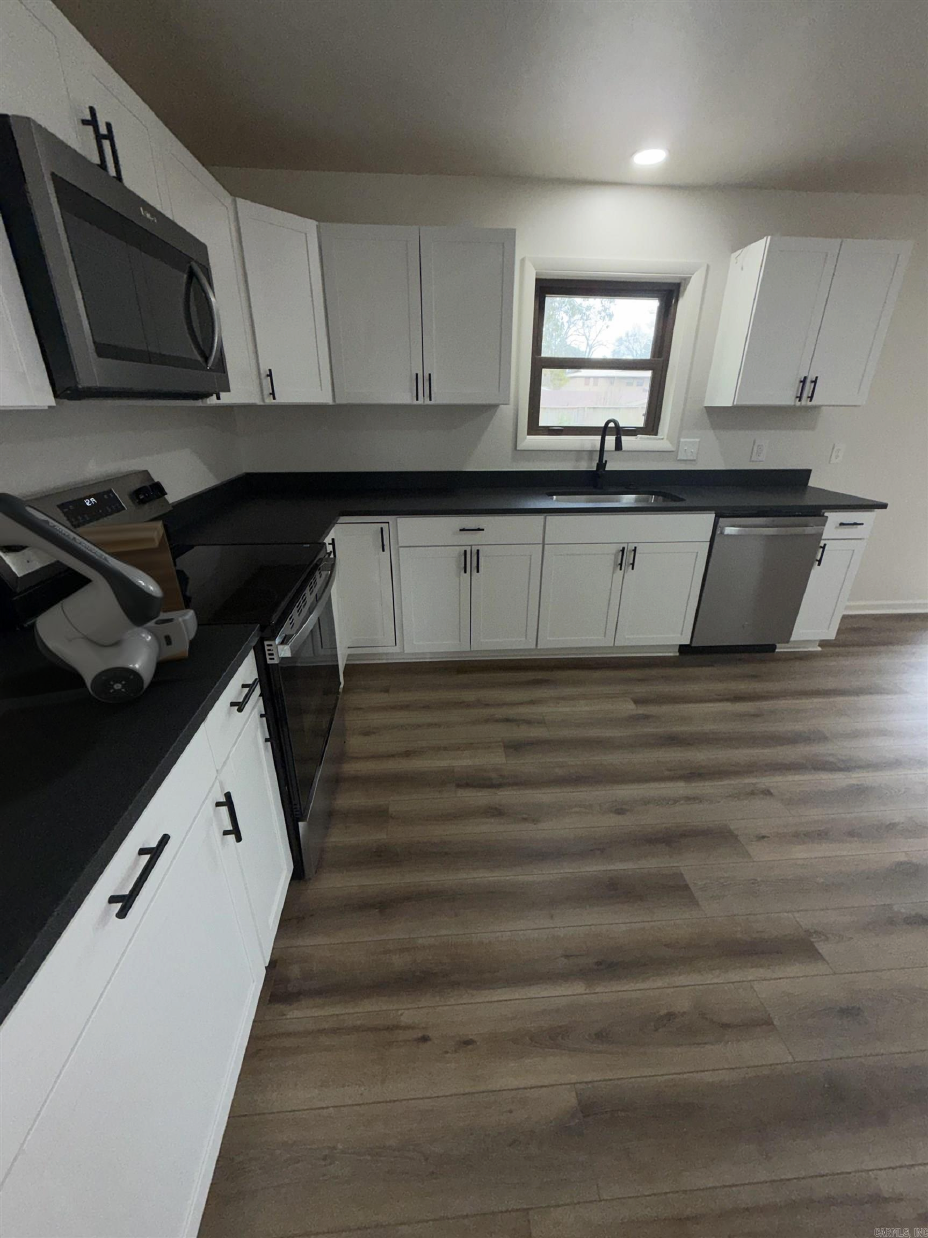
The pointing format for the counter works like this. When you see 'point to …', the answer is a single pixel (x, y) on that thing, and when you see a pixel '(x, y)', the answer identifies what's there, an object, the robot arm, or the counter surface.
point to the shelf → (143, 558)
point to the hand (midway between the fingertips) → (143, 615)
